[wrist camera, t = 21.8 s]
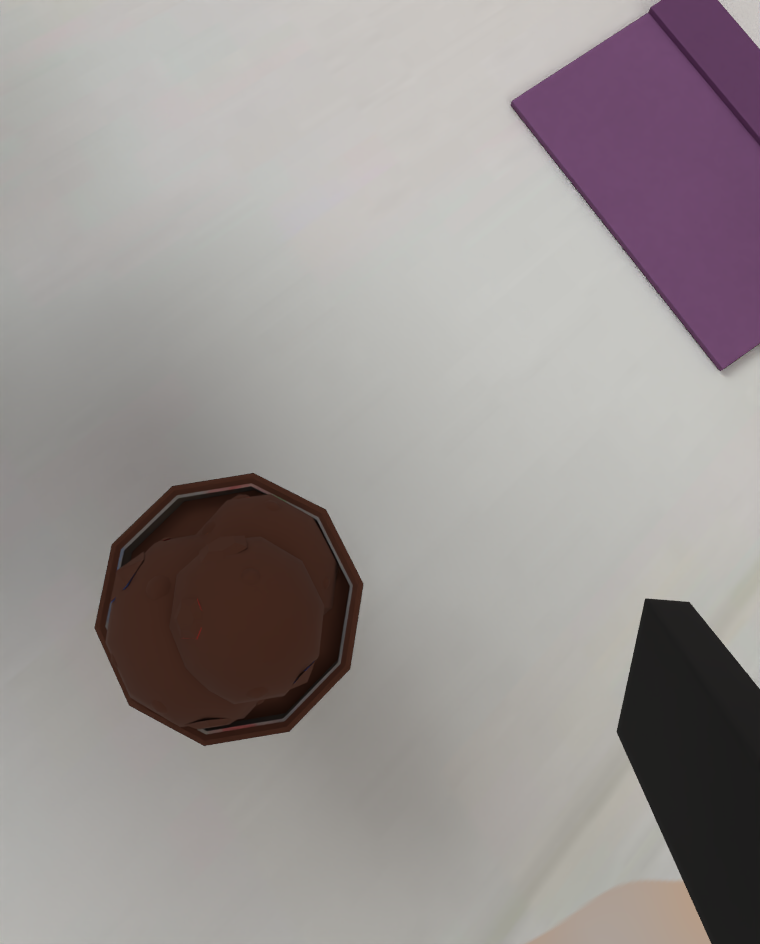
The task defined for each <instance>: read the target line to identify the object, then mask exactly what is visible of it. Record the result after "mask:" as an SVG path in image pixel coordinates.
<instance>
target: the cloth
mask: <svg viewBox="0 0 760 944" xmlns="http://www.w3.org/2000/svg"><path fill="white" fill-rule="evenodd" d="M511 106H512V107H513V109H514V110H515V111H516V112H517V114H518V115H519V116H520V118H521V119H522V120H523V121H524V123H525V124H526V125H527V126H528V128H529V129H530V130H531V131H532V133H533V134H534V135H535V137H536V138H537V139H538V140H539V142H540V143H541V144H542V145H543V147H544V148H545V149H546V151H547V152H548V153H549V154H550V156H551V157H552V158H553V159H554V161H555V162H556V163H557V165H558V166H559V167H560V168H561V170H562V171H563V172H564V173H565V175H566V176H567V177H568V178H569V180H570V181H571V182H572V184H573V185H574V186H575V187H576V189H577V190H578V191H579V192H580V194H581V195H582V196H583V198H584V199H585V200H586V201H587V203H588V204H589V205H590V206H591V208H592V209H593V210H594V212H595V213H596V214H597V215H598V217H599V218H600V219H601V220H602V222H603V223H604V224H605V225H606V227H607V228H608V229H609V231H610V232H611V233H612V234H613V236H614V237H615V238H616V239H617V241H618V242H619V243H620V245H621V246H622V247H623V248H624V250H625V251H626V252H627V253H628V255H629V256H630V257H631V259H632V260H633V261H634V262H635V264H636V265H637V266H638V267H639V269H640V270H641V271H642V272H643V274H644V275H645V276H646V278H647V279H648V280H649V281H650V283H651V284H652V285H653V286H654V288H655V289H656V290H657V292H658V293H659V294H660V295H661V297H662V298H663V299H664V300H665V302H666V303H667V304H668V306H669V307H670V308H671V309H672V311H673V312H674V313H675V314H676V316H677V317H678V318H679V319H680V321H681V322H682V323H683V325H684V326H685V327H686V328H687V330H688V331H689V332H690V333H691V335H692V336H693V337H694V339H695V340H696V341H697V342H698V344H699V345H700V346H701V347H702V349H703V350H704V351H705V353H706V354H707V355H708V356H709V358H710V359H711V360H712V361H713V363H714V364H715V365H716V366H717V368H718V369H719V370H720V371H721V370H723V369H724V368H726V367H727V366H728V365H730V364H731V363H733V362H734V361H736V360H737V359H738V358H740V357H741V356H743V355H744V354H746V353H747V352H748V351H750V350H751V349H753V348H754V347H755V346H757V345H758V344H760V49H759V48H758V47H757V45H756V44H755V43H754V42H753V41H752V40H751V38H750V37H749V36H748V35H747V34H746V33H745V31H744V30H743V29H742V28H741V27H740V26H739V24H738V23H737V22H736V21H735V20H734V19H733V17H732V16H731V15H730V14H729V13H728V12H727V10H726V9H725V8H724V7H723V6H722V5H721V3H720V2H719V1H718V0H661V1H660V2H658V3H657V4H655V5H654V6H652V7H651V8H650V10H649V12H648V13H647V14H645V15H644V16H642V17H641V18H639V19H638V20H636V21H634V22H633V23H631V24H630V25H628V26H627V27H625V28H624V29H622V30H621V31H619V32H617V33H616V34H614V35H613V36H611V37H610V38H608V39H607V40H605V41H604V42H602V43H600V44H599V45H597V46H596V47H594V48H593V49H591V50H590V51H588V52H587V53H585V54H584V55H582V56H580V57H579V58H577V59H576V60H574V61H573V62H571V63H570V64H568V65H567V66H565V67H563V68H562V69H560V70H559V71H557V72H556V73H554V74H553V75H551V76H550V77H548V78H546V79H545V80H543V81H542V82H540V83H539V84H537V85H536V86H534V87H533V88H531V89H530V90H528V91H526V92H525V93H523V94H522V95H520V96H519V97H517V98H516V99H514V100H513V101H512V102H511Z"/></svg>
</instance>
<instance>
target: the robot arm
mask: <svg viewBox="0 0 760 944" xmlns="http://www.w3.org/2000/svg"><path fill="white" fill-rule="evenodd" d="M617 734H618V736H619V738H620V740H621V743H622V745H623V747H624V749H625V751H626V754H627V756H628V758H629V760H630V763H631V765H632V767H633V769H634V772H635V774H636V776H637V778H638V781H639V783H640V785H641V787H642V789H643V792H644V794H645V796H646V798H647V801H648V803H649V805H650V807H651V810H652V812H653V814H654V816H655V819H656V821H657V823H658V825H659V827H660V830H661V832H662V834H663V836H664V839H665V841H666V843H667V845H668V848H669V850H670V852H671V854H672V857H673V859H674V861H675V863H676V865H677V868H678V870H679V872H680V874H681V877H682V879H683V881H684V883H685V886H686V888H687V890H688V892H689V895H690V897H691V899H692V901H693V903H694V906H695V908H696V910H697V912H698V915H699V917H700V919H701V921H702V924H703V926H704V928H705V930H706V932H707V935H708V937H709V939H710V941H711V943H712V944H760V689H759V688H758V686H757V685H756V684H755V683H754V681H753V680H752V679H751V678H750V677H749V675H748V674H747V673H746V672H745V670H744V669H743V668H742V667H741V665H740V664H739V663H738V662H737V660H736V659H735V658H734V657H733V655H732V654H731V653H730V652H729V651H728V649H727V648H726V647H725V646H724V644H723V643H722V642H721V641H720V639H719V638H718V637H717V636H716V634H715V633H714V632H713V631H712V630H711V628H710V627H709V626H708V625H707V623H706V622H705V621H704V620H703V618H702V617H701V616H700V615H699V613H698V612H697V611H696V610H695V608H694V607H693V606H692V605H691V604H690V602H682V601H670V600H658V599H645V602H644V607H643V611H642V616H641V621H640V625H639V630H638V635H637V639H636V644H635V649H634V653H633V658H632V663H631V667H630V672H629V677H628V681H627V686H626V691H625V695H624V700H623V705H622V709H621V714H620V719H619V723H618V728H617Z"/></svg>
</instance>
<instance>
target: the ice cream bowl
mask: <svg viewBox="0 0 760 944" xmlns="http://www.w3.org/2000/svg"><path fill="white" fill-rule="evenodd" d="M362 590H363V582H362V580H361V578H360V576H359V574H358V572H357V570H356V568H355V566H354V564H353V562H352V560H351V558H350V556H349V554H348V552H347V550H346V548H345V546H344V544H343V542H342V540H341V539H340V537H339V535H338V533H337V531H336V529H335V527H334V525H333V523H332V521H331V519H330V517H329V515H328V513H327V511H326V509H324V508H322V507H320V506H318V505H316V504H314V503H312V502H310V501H308V500H306V499H304V498H302V497H300V496H298V495H296V494H294V493H292V492H290V491H288V490H286V489H284V488H282V487H280V486H278V485H276V484H274V483H272V482H270V481H268V480H266V479H264V478H262V477H260V476H258V475H256V474H254V473H251V474H245V475H238V476H232V477H226V478H220V479H214V480H207V481H201V482H195V483H189V484H183V485H176V486H172V487H171V488H170V489H169V490H168V491H167V492H166V493H165V494H164V495H163V496H162V497H161V498H160V499H159V500H158V501H156V502H155V503H154V504H153V505H152V506H151V507H150V508H149V509H148V510H147V511H146V512H145V513H144V514H143V515H142V516H141V517H140V518H139V519H138V520H137V521H136V522H135V523H134V524H133V525H132V526H131V527H129V528H128V529H127V530H126V531H125V532H124V533H123V534H122V535H121V536H120V537H119V538H118V539H117V540H116V541H115V542H114V543H113V544H112V546H111V551H110V556H109V561H108V566H107V570H106V575H105V580H104V585H103V590H102V595H101V599H100V604H99V609H98V614H97V619H96V624H95V630H96V632H97V634H98V637H99V639H100V641H101V643H102V646H103V648H104V650H105V652H106V655H107V657H108V659H109V661H110V664H111V666H112V668H113V670H114V672H115V675H116V677H117V679H118V681H119V684H120V686H121V688H122V690H123V693H124V695H125V697H126V699H127V702H128V704H129V706H131V707H133V708H135V709H137V710H138V711H140V712H142V713H144V714H146V715H148V716H150V717H151V718H153V719H155V720H157V721H159V722H161V723H163V724H164V725H166V726H168V727H170V728H172V729H174V730H176V731H177V732H179V733H181V734H183V735H185V736H187V737H189V738H190V739H192V740H194V741H196V742H198V743H200V744H202V745H203V746H206V745H212V744H218V743H224V742H230V741H236V740H242V739H248V738H254V737H260V736H266V735H272V734H278V733H284V732H289V731H290V730H291V729H292V728H293V727H294V726H295V725H296V724H297V723H298V722H299V721H300V720H301V719H302V718H303V717H304V716H305V715H306V714H307V713H308V712H309V711H310V710H311V709H312V708H313V707H314V706H315V705H316V704H317V702H318V701H319V700H320V699H321V698H322V697H323V696H324V695H325V694H326V693H327V692H328V691H329V690H330V689H331V688H332V687H333V686H334V685H335V684H336V683H337V682H338V681H339V680H340V679H341V678H342V677H343V676H344V675H345V674H346V673H347V672H348V671H349V670H350V667H351V660H352V654H353V647H354V641H355V635H356V628H357V622H358V615H359V609H360V602H361V596H362Z"/></svg>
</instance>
